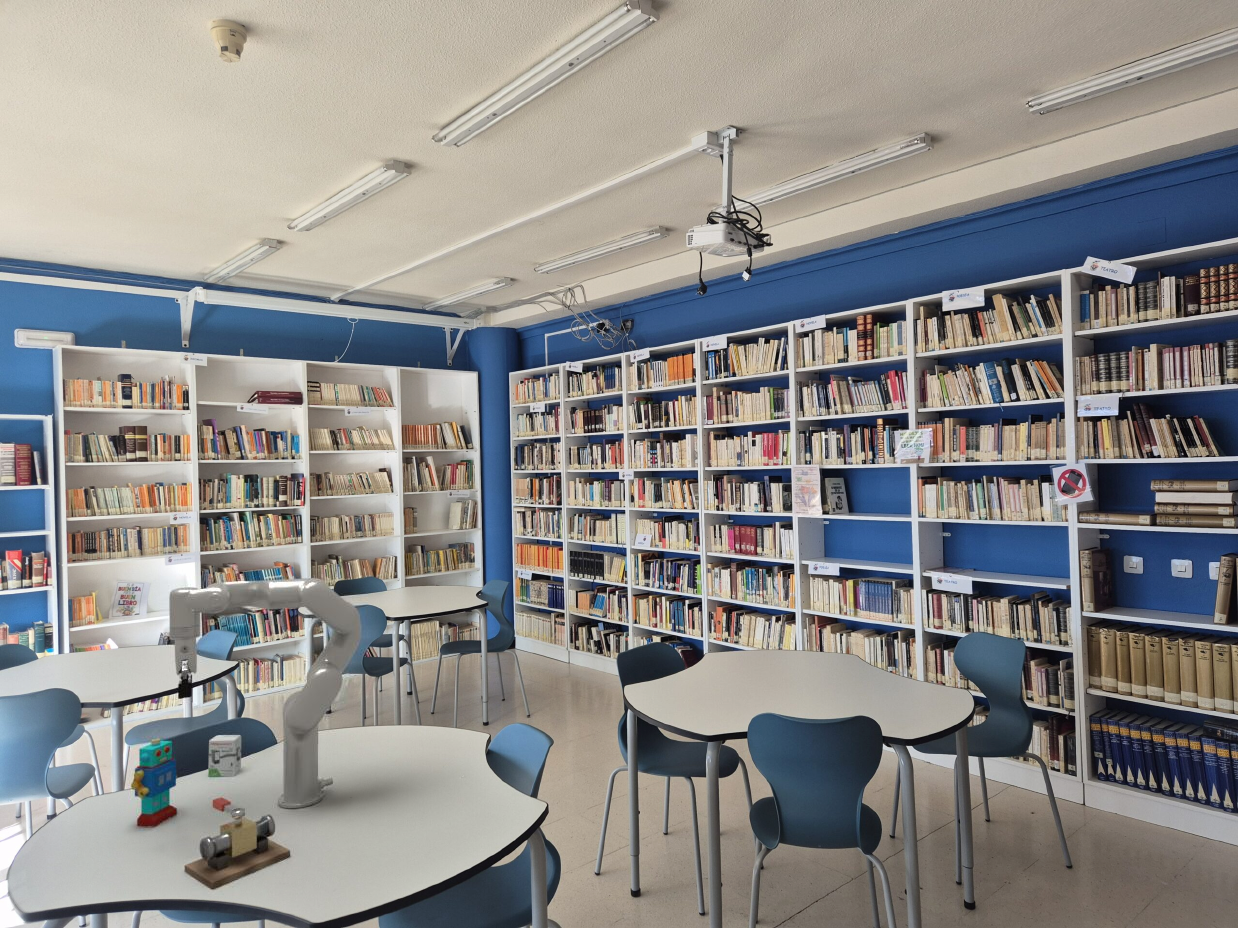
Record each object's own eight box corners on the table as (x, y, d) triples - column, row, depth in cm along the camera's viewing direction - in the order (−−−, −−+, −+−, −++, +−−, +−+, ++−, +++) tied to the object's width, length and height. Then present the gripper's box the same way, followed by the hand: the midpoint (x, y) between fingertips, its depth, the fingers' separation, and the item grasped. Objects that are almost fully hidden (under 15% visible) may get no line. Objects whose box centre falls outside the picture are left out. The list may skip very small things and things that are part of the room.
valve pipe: (263, 841, 194) (263, 802, 195) (276, 847, 191) (276, 807, 191) (198, 867, 181) (198, 825, 182) (210, 874, 178) (210, 831, 178)
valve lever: (247, 815, 187) (247, 808, 187) (235, 820, 184) (235, 812, 184) (222, 803, 194) (222, 796, 194) (210, 807, 192) (210, 800, 192)
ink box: (207, 777, 243) (207, 740, 243) (214, 771, 248) (215, 735, 248) (234, 776, 243) (234, 739, 243) (241, 770, 248) (241, 734, 248)
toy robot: (148, 829, 205) (149, 737, 206) (130, 828, 206) (130, 736, 207) (181, 811, 216) (181, 724, 217) (163, 810, 218) (163, 722, 218)
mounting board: (261, 840, 198) (261, 835, 198) (290, 856, 189) (290, 850, 189) (184, 871, 183) (184, 864, 183) (212, 889, 174) (212, 882, 174)
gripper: (200, 635, 206) (200, 698, 206) (200, 625, 221) (200, 684, 221) (168, 638, 203) (168, 703, 202) (170, 628, 218) (170, 688, 217)
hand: (185, 693), depth 212 cm, fingers open, 9 cm apart
